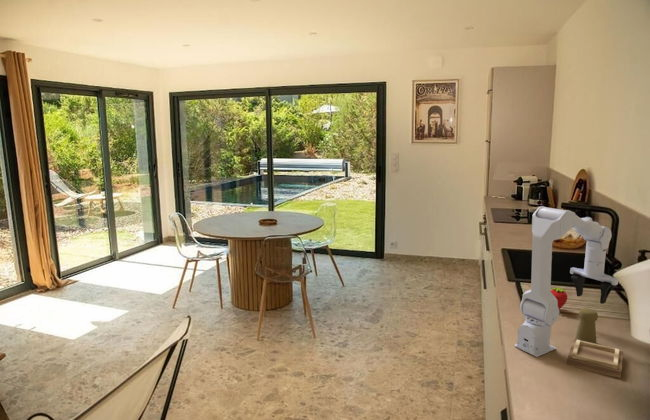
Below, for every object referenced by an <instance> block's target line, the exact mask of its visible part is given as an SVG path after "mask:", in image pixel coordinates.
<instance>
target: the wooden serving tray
mask: <svg viewBox="0 0 650 420" xmlns="http://www.w3.org/2000/svg"><path fill="white" fill-rule="evenodd" d="M623 358H624V351H621V350H620V349H619V348H616V347H612V346H608V345H602V344H599V343H597V344H595V343H590V342H586V341H581V340H576V341H575V339H573V340H572V343H571V346H570V348H569V352H568V355H567V360H566V365H567V366H571V367H574V368H579V369H583V370H586V371H590V372H594V373H598V374H602V375H607V376H609V377H613V376H614V377H613V378H617V377H618V379H620V378H621V377H622V371H623V370H622V369H623V360H624V359H623Z"/></svg>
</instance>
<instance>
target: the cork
mask: <svg viewBox="0 0 650 420" xmlns="http://www.w3.org/2000/svg"><path fill="white" fill-rule="evenodd" d="M598 315H599V314H598V312H597V311H596V310H594V309H592V308H581V309H580V310H579V312H578V316H579V322H578V326H577V330H576V333H575V338H574V341H576V340H581V341H586V342H590V343H595V344H598V343H597V331H596V330H597V329H596V328H597V327H596V321H598V318H599V316H598Z"/></svg>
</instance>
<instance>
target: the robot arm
mask: <svg viewBox="0 0 650 420" xmlns="http://www.w3.org/2000/svg"><path fill="white" fill-rule="evenodd" d="M572 228H573V230H574V232H575V234H577V235H580V236H581V237H583V240H584V241H586V243H585V244H586V245H585V255H584V256H585V257H584V265H583V266H584V267H583V268H577V267H570V270H569V273H570V274H571V276H570V279H571V281H572V282H573V285H574V288H575V291H576V296H577V297H582V296H583V293H584V284H585V281H586V278H588V279H592V280H596V281H598V282H599V281H600V282H602V283H600V284H599V287H600V299H599V303H600V305H601V304H602V305H604V304H606V302H607V299H608V297H609V295H610V293H611V292H612V290H613V289H614V288H615V286H617V285H618V284H619V278H617V277H613V276H612V275H608V274H606V273H605V263H606V256H607V255H606V253H607V249H609V245H610V241H611V239H612V235H613V234H612V229H610V228H609V227H608V226H603V225H600V223H599V222H597V221H593V218H592V217H590V216H585V217H579V216H578V215H577V214H576V212H574V211H572V210H569V209H567V210H566V209H559V208H553V207H546V206H544V205H541V206H539V207H537V209H536V210H535V211H534V212H533V214H532V219H531V233H532V245H531V246H532V248H531V279H530V280H531V283H530V289H528V290H526V291H525V292H524V293H523V294H522V299H521V302H520V304H519V305H520V306H519V309H520V312H521V314H522V315H523V319H524V322H523V323H522V324H521V325H519V326H518V330H517V341H516V343H515V344H514V347H515V348H517V349H519V350H522V351H523V352H526V353H528V354H530V355H532V356H534V357H536V358H538V357H540V356H542V355H545V354H547V353H550V352H552V351H555V350H556V349H557V348H556V346H553V345H552V344H551V336H552V335H551V334H552V325H553V324H555V323H556V322H557V321H558V319H559V316H560V309H559V308H558V304H557V302H558V300H557V299H556V298H555V296H554V295H553V294H552V293H551V290H552V289H551V288H552V287H551V286H552V284H551V283H552V260H553V255H552V254H553V242H554V241H557V240H560V239H561V238H563V237H564V236H565V235H566V234H567V233H569V231H571V230H572Z"/></svg>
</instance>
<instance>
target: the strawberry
mask: <svg viewBox="0 0 650 420" xmlns="http://www.w3.org/2000/svg"><path fill="white" fill-rule="evenodd" d="M550 291H551V293H552V294H553V295H554V296H555V298H556V299H557V300H558V302H557V304H558V308H559V310H561V308H563V307H564V305H565V304H566V303H567V302H568V301H567V300H568V294H567V292H566V289H565V288H560V286H558V287H557V288H555V287H551V289H550Z"/></svg>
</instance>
